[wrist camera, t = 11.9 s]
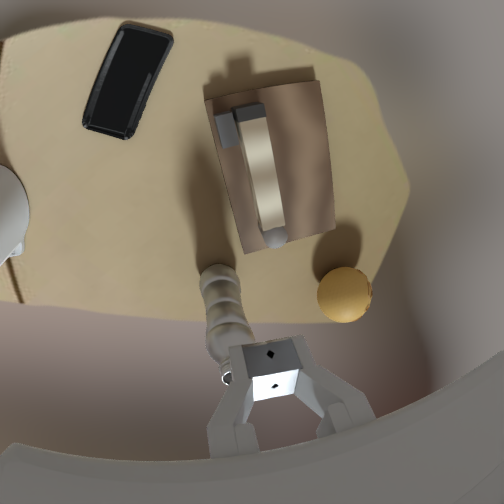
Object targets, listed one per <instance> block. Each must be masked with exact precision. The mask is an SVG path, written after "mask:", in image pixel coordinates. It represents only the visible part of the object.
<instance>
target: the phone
mask: <svg viewBox="0 0 504 504" xmlns="http://www.w3.org/2000/svg"><path fill="white" fill-rule="evenodd" d="M173 43H174V40H173V38H172V36H171V35H169V34H166V33H162V32H159V31H155V30H151V29H147V28H144V27H139V26H135V25H131V24H126V25H123V26H121V27H120V28H119V30H118V32H117V34H116V36H115V38H114V40H113V42H112V44H111V46H110V48H109V50H108V53H107V55H106V57H105V59H104V62H103V64H102V66H101V69H100V71H99V74H98V76H97V79H96V81H95V84H94V86H93V89H92V92H91V95H90V97H89V100H88V103H87V106H86V109H85V112H84V116H83V119H82V125H83V127H84V128H86V129H88V130H92V131H95V132H99V133H102V134H106V135H109V136H112V137H116V138H119V139H122V140H128V139H130V138H131V137H132V136H133V135H134V133H135V131H136V128H137V126H138V124H139V120H140V119H141V116H142V114H143V113H142V112H143V111H144V109H145V106H146V102H147V100H148V97H149V95H150V93H151V90H152V88H153V86H154V83H155V81H156V79H157V77H158V75H159V72H160V70H161V68H162V66H163V64H164V62H165V60H166V58H167V56H168V54H169V52H170V50H171V48H172V46H173Z"/></svg>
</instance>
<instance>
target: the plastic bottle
mask: <svg viewBox="0 0 504 504" xmlns="http://www.w3.org/2000/svg"><path fill="white" fill-rule="evenodd" d="M199 287H200V291H201V295H202V297H203V299H204V304H205V308H206V321H207V327H206V340H205V341H206V349H207V351H208V353H209V355H210V357H211V358H212V359H213V360H215V362H217V363H218V364H219V371H220V373H221V379H222V382H223V383H224V384H226V385H229V384H230V382H232V381H233V380H232V375H231V368H230V360H229V351H228V346H236V345H244V344H252V343H255V337H254V335H253V332H252V330H251V328H250V326H249V324H248V321H247V319H246V317H245V314H244V311H243V308H242V303H241V295H240V293H241V287H240V280H239V277H238V276H237V274H236V272H235V271H234V270H233V269H232V268H231V267H229V266H227V265H223V264H215V265H212V266H210V267H208V268H207V269H205V270H204V271H203V273H202V274H201V277H200V283H199Z"/></svg>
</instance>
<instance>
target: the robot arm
mask: <svg viewBox="0 0 504 504" xmlns="http://www.w3.org/2000/svg"><path fill="white" fill-rule="evenodd" d="M28 223H29V205H28V200H27V196H26V193H25V191H24V188H23V186H22V184H21V183H20V181H19V179H18V178H17V177H16V175H15V174H14V173H13V172H12V171H11V170H9V169H8V168H6V167H4V166H2V165H0V266H1V265H2V264H3V263H4V261H5V260H6V259H7V258H8V257H12V256H18V255H21V254H22V253H23V252H24V236H25V233H26V230H27V227H28ZM228 351H229V360H230V368H231V375H232V380H233V381H232V382H230V384H229V386H228V388H227V390H226V392H225V394H224V396H223V397H222V399H221V401H220V403H219V405H218V407H217V409H216V411H215V413H214V414H213V416H212V419H211V420H210V422H209V424H208V426H207V434H208V442H209V449H210V456H211V459H203V460H189V461H156V462H155V461H153V462H152V461H123V460H110V459H100V458H91V457H83V456H77V455H70V454H64V453H59V452H54V451H49V450H44V449H40V448H35V447H32V446H28V445H24V444H20V443H13V444H11V445H10V446H9V447H8V448H7V449H6V450H5V451H4V452H3V453H2V454H1V455H0V504H504V350H503V351H500V352H498V353H497V354H496V355H494V356H493V357H492V358H490V359H489V360H487V361H486V362H484V363H483V364H481V365H480V366H478V367H477V368H475V369H474V370H472V371H470V372H469V373H467V374H466V375H464V376H462V377H461V378H459V379H457V380H456V381H454V382H452V383H451V384H449V385H447V386H445V387H444V388H442V389H440V390H438V391H436V392H434V393H432V394H430V395H428V396H426V397H424V398H423V399H420V400H418V401H416V402H414V403H412V404H410V405H408V406H406V407H404V408H401V409H399V410H397V411H395V412H392V413H390V414H388V415H385V416H383V417H380V418H378V419H376V417H375V415H374V413H373V411H372V409H371V407H370V405H369V403H368V401H367V399H366V397H365V395H364V393H362V392H361V391H359V390H357V389H356V388H354V387H353V386H351V385H350V384H348V383H347V382H345V381H344V380H342V379H341V378H339V377H337V376H336V375H334V374H333V373H331V372H330V371H328V370H327V369H325V368H324V367H322V366H321V365H318V366H316V363H315V361H314V359H313V356H312V354H311V352H310V349H309V347H308V345H307V342H306V340H305V338H304V336H303V335H297V336H292V337H285V338H281V339H276V340H270V341H265V342H260V343H252V344H244V345H236V346H228ZM293 393H294V394H295V395H296V396H297V397H298V398H299V399H300V400H302V401H303V402H304V403H305V404H306V405H307V406H308V407H309V408H311V409H312V410H313V411H314V412H315V413H317V414H318V415H319V416H320V417H321V418H323V419H322V421H321V423H320V425H319V427H318V429H317V431H316V433H317V436H318V439H316V440H312V441H308V442H304V443H300V444H296V445H292V446H288V447H283V448H278V449H274V450H269V451H263V452H260V450H259V446H258V442H257V438H256V434H255V430H254V426H253V425H252V424H250V423H246V421H247V418H248V416H249V413H250V410H251V408H252V406H253V403H254V401H257V400H262V399H267V398H272V397H277V396H283V395H288V394H293Z"/></svg>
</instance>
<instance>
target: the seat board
mask: <svg viewBox="0 0 504 504" xmlns="http://www.w3.org/2000/svg"><path fill="white" fill-rule="evenodd" d="M204 102H205V106H206V110H207V114H208V118H209V122H210V126H211V130H212V134H213V137H214V141H215V145H216V149H217V153H218V157H219V161H220V165H221V168H222V172H223V176H224V180H225V184H226V188H227V192H228V195H229V199H230V203H231V207H232V211H233V214H234V218H235V222H236V226H237V230H238V233H239V237H240V241H241V245H242V248H243V251H244V255H245V254H248V253H252V252H255V251H259V250H262V249H266V248H269V247H268V246H267V245H266V244H265V241H264V239H263V237H262V235H261V233H260V231H259V228H258V223H259V221H258V219H257V216H256V212H255V207H254V203H253V198H252V194H251V189H250V185H249V180H248V176H247V171H246V167H245V162H244V158H243V154H242V149H241V145H240V140H239V136H238V132H237V127H236V123H235V120H234V118H233V114H232V110H231V107H234V106H239V105H243V104H248V103H253V102H260V103H264V106H265V111H266V116H267V117H266V121H267V126H268V131H269V136H270V141H271V147H272V152H273V157H274V163H275V168H276V174H277V179H278V185H279V190H280V196H281V202H282V208H283V214H284V220H285V226H283V227H284V229H285V230H286V232H287V234H288V238H287V241H286V243H287V242H291V241H294V240H298V239H301V238H305V237H308V236H312V235H316V234H319V233H323V232H326V231H330V230H333V229H336V225H335V208H334V194H333V182H332V171H331V161H330V152H329V143H328V135H327V127H326V120H325V113H324V106H323V100H322V93H321V87H320V81H305V82H297V83H290V84H283V85H276V86H270V87H264V88H259V89H253V90H248V91H243V92H238V93H234V94H229V95H225V96H221V97H216V98H212V99H208V100H205V101H204Z"/></svg>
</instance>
